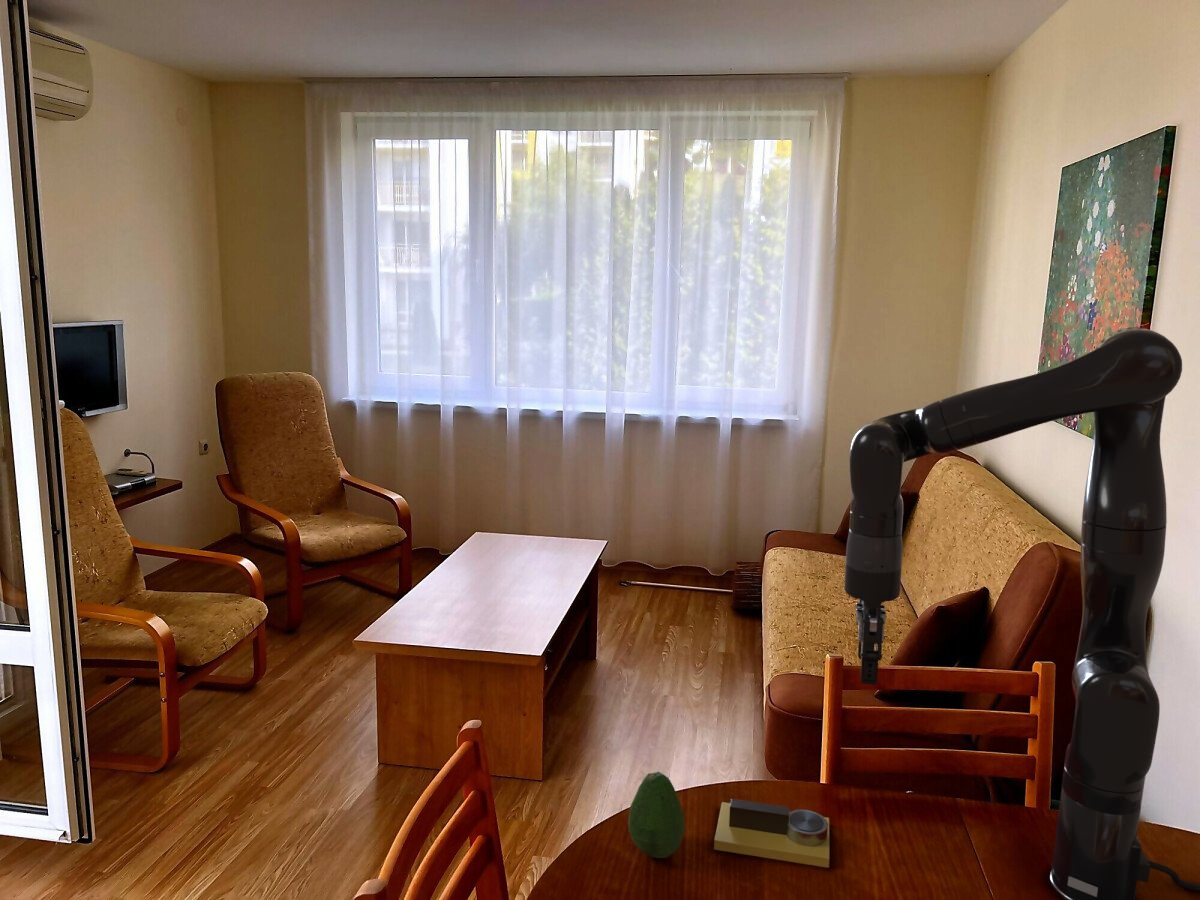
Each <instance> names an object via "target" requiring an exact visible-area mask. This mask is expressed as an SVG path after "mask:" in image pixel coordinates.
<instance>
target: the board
mask: <svg viewBox="0 0 1200 900" xmlns="http://www.w3.org/2000/svg"><path fill="white" fill-rule="evenodd" d="M730 803H731V802H724V801H722V802H721V805H720V810H719V815H718V821H717V826H716V831H715V835H714V843H713V849H714V851H721V852H727V853H734V854H739V855H746V856H752V857H759V858H764V859H772V860H778V861H782V862H790V863H795V864H801V865H808V866H815V867H821V868H828V869H829V868H830V817H825V816H823V817H824V818H825V819H826V821H827V823H828V831H827V839H826V841H825V842H824V843H823V844H821V845H818V846H803V845H800V844H797V843H795V842H793V841H791V840H790V839H789V838H788V837H787V836H786V835H782V834H775V833H769V832H762V831H756V830H749V829H743V828H736V827H730V826H729V815H730ZM790 812H791V811H789V813H790Z"/></svg>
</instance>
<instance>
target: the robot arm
mask: <svg viewBox="0 0 1200 900" xmlns="http://www.w3.org/2000/svg"><path fill="white" fill-rule="evenodd" d="M1182 372H1183V359H1182V356H1181V353H1180V352H1179V349H1178V348H1177V347H1176V345H1175V344H1174V343H1173V342H1172V341H1171V340H1170V339H1169V338H1167V337H1166V336H1165V335H1164V334H1161V333H1159V332H1157V331H1154V330H1152V329H1148V328H1144V327H1139V326H1129V327H1124V328H1120V329H1117V330H1115V331H1112V332H1111V333H1109V334H1107V335H1106V336H1105V337H1104V338H1102V339H1101V341H1100V342H1098V343H1097V345H1096V347H1095V348H1094V349H1093V350H1092V351H1089V352H1087V353H1086V354H1084V355H1083V354H1082V356H1079V357H1077V358H1075V359H1073V360H1071V361H1068V362H1066V363H1064V364H1061V365H1058V366H1056V367H1053V368H1050V369H1047V370H1045V371H1042V372H1038V373H1035V374H1031V375H1027V376H1023V377H1018V378H1015V379H1010V380H1005V381H1000V382H997V383H992V384H988V385H985V386H981V387H977V388H974V389H969V390H967V391H963V392H961V393H957V394H954V395H951V396H948V397H945V398H943V399H939V400H936V401H933V402H931V403H929V404H926V405H923V406H922V407H918V408H913V409H909V410H905V411H900V412H896V413H892V414H888V415H885V416H881V417H879V418H876V419H873V420H871V421H869V422H867V423H865V425H864V426H863V427H861V429H859V430H858V431H857V432H856V433H855V434H854V435H853V438H852V440H851V445H850V449H849V477H850V488H851V489H850V490H851V502H850V509H849V526H848V528H849V529H848V535H847V541H846V551H845V568H844V569H845V570H844V587H843V588H844V592H845V593H846V594H847V596H850V597H851V598H853V599H856V600H859V602H856V603H855V624H856V626H857V641H858V649H857V655H858V656H857V657H858V659H859V660H861V661H860V663H861V665H860V683H861V684H863V685H872V686H875V685H877V684H878V677H879V676H878V675H879V662H880V661H882V659H883V654H882V651H883V650H882V648H883V647H882V646H883V643H884V640H885V624H886V621H887V611H886V607H885V606H886V605H885V604H883V603H886V602H892V601H894V600H897V599H898V598H899V597H900V595H901V584H902V583H901V582H902V581H901V580H902V567H903V566H902V565H903V553H904V552H903V549H904V548H903V520H904V518H903V517H904V500H903V497H902V494H901V492H902V491H901V490H902V479H903V478H902V477H903V467H904V463H906V462H909V461H912V460H915V459H919V458H921V457H925V456H929V455H932V454H939V455H943V454H949V453H953V452H956V451H960V450H963V449H967V448H971V447H973V446H977V445H980V444H983V443H986V442H989V441H992V440H996V439H998V438H1002V437H1005V436H1009V435H1012V434H1015V433H1017V432H1020V431H1023V430H1027V429H1029V428H1033V427H1037V426H1039V425H1043V424H1046V423H1049V422H1055V421H1057V420H1061V419H1066V418H1071V417H1076V416H1080V415H1085V414H1089V413H1093V441H1092V449H1091V455H1090V459H1089V465H1088V469H1087V475H1086V483H1085V488H1084V489H1085V490H1084V499H1083V507H1082V513H1081V514H1082V515H1081V531H1080V579H1081V580H1080V583H1081V595H1082V616H1081V617H1082V618H1081V625H1080V630H1079V636H1078V644H1077V649H1076V654H1075V657H1074V662H1073V668H1072V673H1071V687H1072V692H1073V695H1074V699H1075V707H1074V715H1073V722H1072V723H1073V724H1072V731H1071V737H1070V743H1069V744H1068V745H1067V747H1066V750H1065V756H1064V757H1065V758H1064V763H1063V765H1064V766H1063V772H1062V773H1063V774H1062V783H1061V790H1060V799H1059V807H1058V815H1057V824H1056V831H1055V840H1054V849H1053V857H1052V863H1051V871H1050V875H1049V883H1050V885H1051V888H1052V889H1053V891H1054V892H1055V893H1056V894H1057V895H1058V896H1059V897H1060V898H1062V899H1063V900H1136V893H1137V885H1138V882H1143V883H1149V878H1150V872H1151V869H1153V870H1156V871H1159V872H1162V873H1164V874H1166V875H1168V876H1170V878H1171V880H1172V882H1173V883H1174V885H1176V886H1177V887H1180V888H1183V889H1185V890H1190V891H1194V892H1200V884H1195V883H1191V882H1188V881H1185V880H1182V879H1181V878H1180V877H1179V875H1178V873H1177V872H1176V871H1175V870H1174V869H1172V868H1171V867H1168V866H1166V865H1164V864H1161V863H1158V862H1155V861H1152V860H1148V859H1147V857H1146V855H1145V853H1144V852H1143V850H1142V849H1143V845H1142V843H1141V841H1140V840H1139V838H1138V833H1139V826H1140V818H1141V812H1142V811H1141V810H1142V804H1143V795H1144V789H1145V783H1146V778H1147V777H1146V776H1147V774H1148V773H1149V771H1150V769H1151V767H1152V762H1153V757H1154V751H1155V746H1156V741H1157V735H1158V730H1159V722H1160V713H1161V712H1160V711H1161V709H1160V708H1161V707H1160V705H1161V704H1160V698H1159V695H1158V692H1157V690H1156V688H1155V686H1154V683H1153V682H1152V679H1151V677H1150V674H1149V671H1148V662H1147V648H1146V647H1147V645H1146V644H1147V643H1146V624H1147V615H1148V611H1149V607H1150V604H1151V601H1152V599H1153V596H1154V593H1155V592H1156V591H1155V590H1156V588H1157V585H1158V583H1159V579H1160V576H1161V572H1162V569H1163V564H1164V557H1165V551H1166V549H1165V548H1166V538H1167V537H1166V536H1167V493H1166V491H1167V490H1166V481H1165V474H1164V473H1165V472H1164V467H1163V459H1162V452H1161V450H1162V449H1161V432H1162V431H1161V430H1162V423H1163V416H1164V409H1165V403H1166V396H1168V395H1169V394H1170V393H1171V392H1172V391H1173V390H1174V389H1175V387H1176V386H1177V385H1178V383H1179V381H1180V379H1181V376H1182Z"/></svg>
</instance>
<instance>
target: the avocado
mask: <svg viewBox="0 0 1200 900" xmlns="http://www.w3.org/2000/svg"><path fill="white" fill-rule="evenodd" d="M628 814H629V815H628V821H627V824H628V832H629V835H630V838H631V840H632V842H633V843H634V845H635V847H636V849H638V851H640V852H641V853H643V854H645V855H647V856H649V857H651V858H653V859H667V858H668V857H670V856H672V855H674V854H675V853H676V852H677V851H678V849H679V847H680V846H681V844H682V841H683V837H684V835H685V831H686V822H685V814H684V810H683V807H682V804H681V801H680V798H679V796H678V794H677V792H676V788H675V787H674V785H673V783H672V781H671V780H670V778H669V777H668V776H667V775H665V774H664V773H662V772H661V771H656V772H651V773H647V774H646V776H645V777H644V778H643V780H642V781H641V783H640V785H639V786H638V789H637V790H636V793H635V795H634V797H633V799H632V802H631V804H630V806H629V813H628Z"/></svg>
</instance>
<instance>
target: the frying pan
mask: <svg viewBox="0 0 1200 900" xmlns="http://www.w3.org/2000/svg"><path fill="white" fill-rule="evenodd" d="M729 803H730V815H729V826H730V827H736V828H743V829H749V830H756V831H762V832H769V833H775V834H782V835H786V836H787V837H788V838H789V839H790V840H791V841H793V842H795V843H797V844H800V845H803V846H818V845H821V844H823V843H824V842H825V841H826V839H827V831H828V823H827V821H826V819H825V818H824V817H825V816H823V815H822V814H821V813H819V812H816V811H814V810H810V809H809V810H808V809H795V810H792V811H791V807H790V806H785V805H777V804H770V803H765V802H764V803H763V802H757V801H750V800H743V799H736V798H731V799H730V802H729ZM789 812H790V813H789Z"/></svg>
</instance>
